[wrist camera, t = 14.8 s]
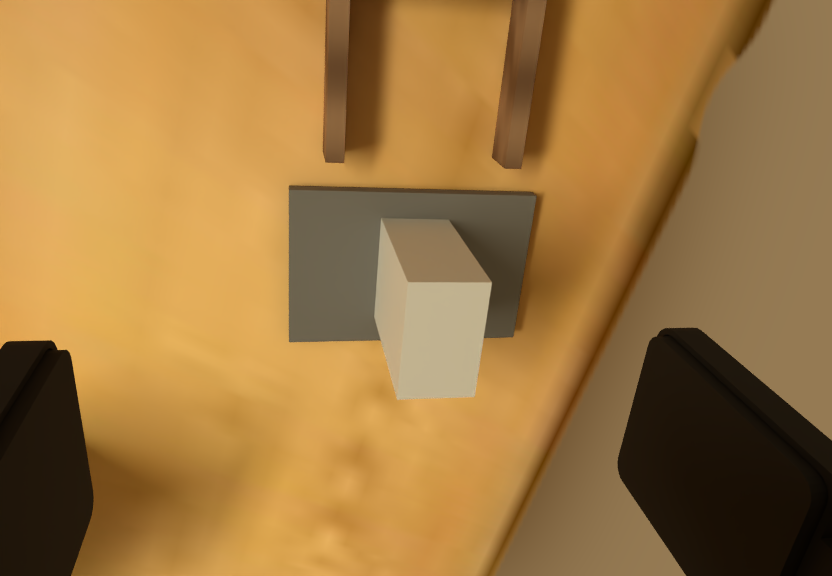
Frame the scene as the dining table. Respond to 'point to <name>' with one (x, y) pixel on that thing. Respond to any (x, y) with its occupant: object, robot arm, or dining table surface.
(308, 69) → the dining table surface
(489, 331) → the mat
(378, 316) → the blank block
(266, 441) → the dining table surface
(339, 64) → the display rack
